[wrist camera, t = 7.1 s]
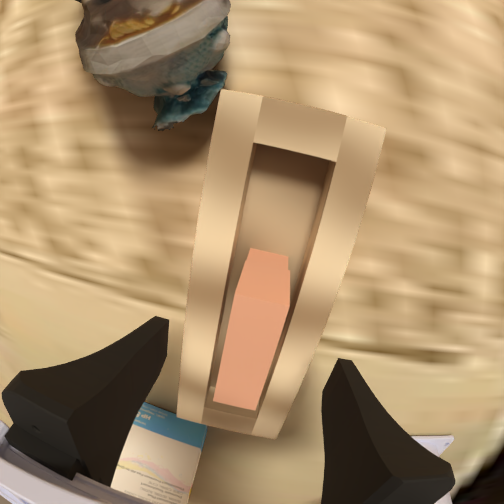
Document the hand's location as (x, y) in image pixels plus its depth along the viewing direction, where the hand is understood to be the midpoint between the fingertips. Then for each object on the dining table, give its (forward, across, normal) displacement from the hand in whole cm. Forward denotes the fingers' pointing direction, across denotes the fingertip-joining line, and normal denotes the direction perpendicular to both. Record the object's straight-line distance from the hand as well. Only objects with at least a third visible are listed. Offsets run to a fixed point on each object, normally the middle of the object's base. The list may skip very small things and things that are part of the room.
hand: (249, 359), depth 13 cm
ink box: (+6, +6, +17) cm, 19 cm away
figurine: (+6, +8, -15) cm, 18 cm away
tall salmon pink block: (+5, 0, 0) cm, 5 cm away
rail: (+6, 0, 0) cm, 6 cm away
